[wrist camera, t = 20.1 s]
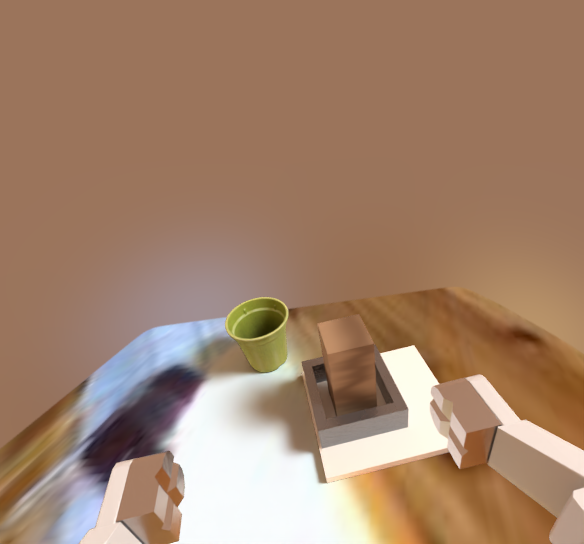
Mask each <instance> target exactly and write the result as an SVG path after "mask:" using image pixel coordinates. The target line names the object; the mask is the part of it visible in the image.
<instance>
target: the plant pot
mask: <svg viewBox="0 0 584 544" xmlns="http://www.w3.org/2000/svg"><path fill="white" fill-rule="evenodd" d="M287 319H288V309H287V307H286V305H285V304H284V303H283V302H282V301H280V300H278V299H275V298H270V297H261V298H255V299H252V300H248V301H245V302H244V303H242V304H240V305H238V306H237V307H235V308H234V309H233V310H232V311H231V312H230V313H229V315H228V316H227V318H226V322H225V328H226V331H227V333H228V334H229V335H230V336H231V337H232V338H233V339H234V340H235V341H237V342H238V344H239V346H240V347H241V349H242V351H243V352H244V354H245V356H246V358H247V360H248V361H249V363H250V365H251V366H252V367H253V368H254V369H255V370H257V371H259V372H271V371H274V370H276V369H278V367H279V366H280V365H281V364H283V363H284V362H285V361H286V359H287V343H286V328H285V327H286V322H287Z"/></svg>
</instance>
